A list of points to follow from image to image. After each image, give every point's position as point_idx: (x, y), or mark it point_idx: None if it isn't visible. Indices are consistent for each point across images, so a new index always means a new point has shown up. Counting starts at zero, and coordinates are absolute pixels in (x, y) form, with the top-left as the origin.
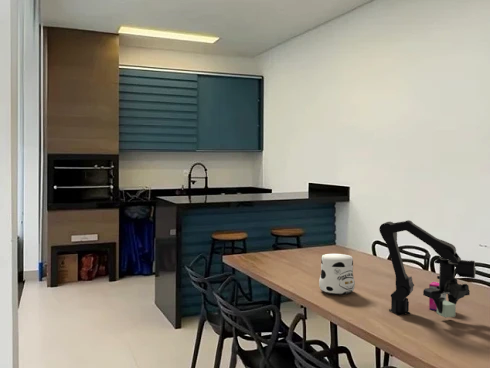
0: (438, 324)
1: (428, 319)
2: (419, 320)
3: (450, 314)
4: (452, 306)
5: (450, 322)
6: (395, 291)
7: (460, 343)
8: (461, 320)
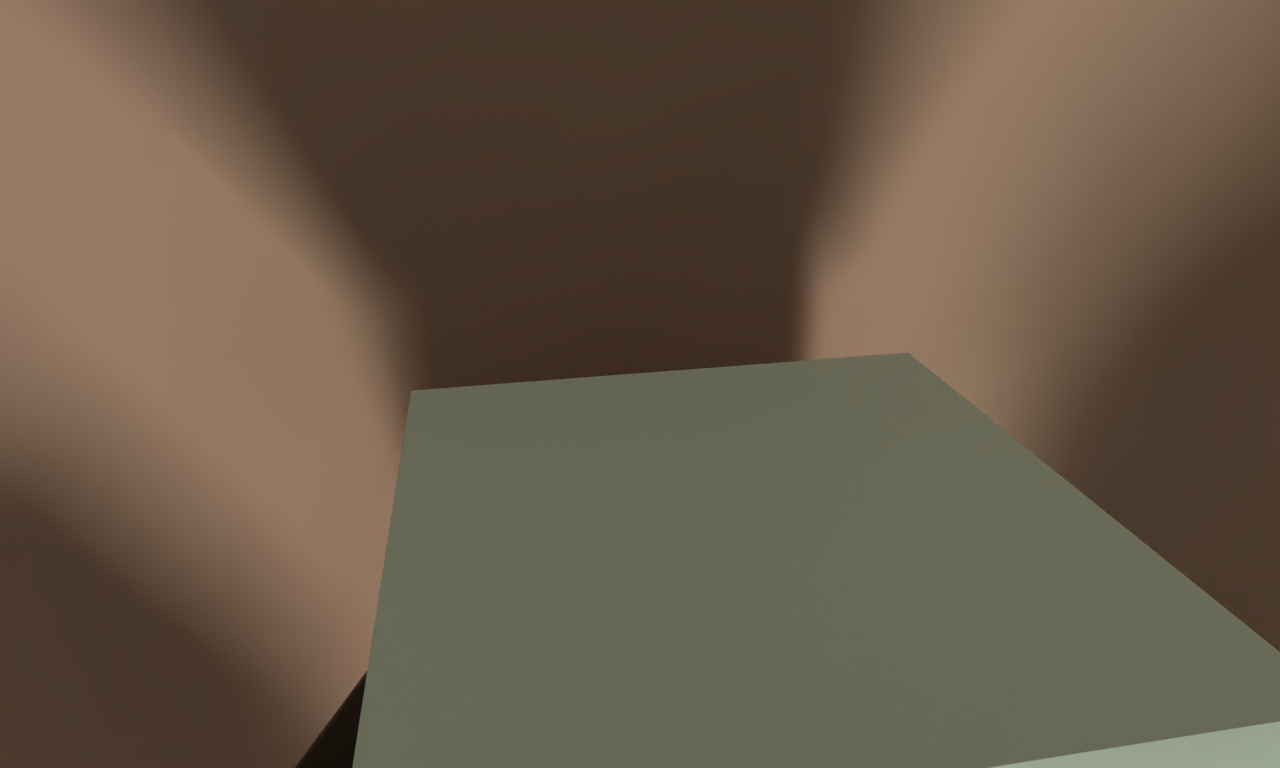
0: (1099, 231)
1: None
2: (1249, 580)
3: (689, 417)
4: (666, 692)
5: (622, 297)
6: None
7: None
8: (93, 382)
